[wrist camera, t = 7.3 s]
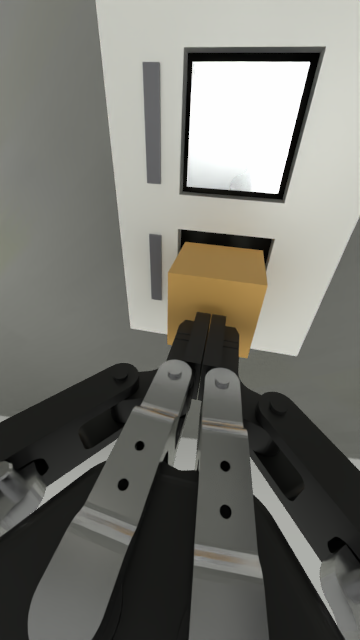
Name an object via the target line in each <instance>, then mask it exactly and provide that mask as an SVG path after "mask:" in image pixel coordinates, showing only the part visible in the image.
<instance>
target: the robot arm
mask: <svg viewBox="0 0 360 640" xmlns="http://www.w3.org/2000/svg"><path fill="white" fill-rule="evenodd" d="M210 318H211V323H210ZM225 324H226V316H223V315H216V314H212V317H211V314H209V313H203V312H197V313H196V317H195V320H194V321H191V320H184V321H183V322H182V323H181V324H180V325H179V327H178V330H177V333H176V336H175V339H174V341H173V344H172V347H171V350H170V352H169V355H168V358H167V361H166V362H164V363H163V364H161V366H160V367H159V368H158V369H156V370H153V371H145V372H138V370H137V369H136V368H135V367H134V366H133V365H131V364H127V363H119V364H115V365H113V366H111V367H109V368H107V369H105V370H103V371H101V372H99V373H97V374H95V375H93V376H91V377H89V378H87V379H85V380H83V381H81V382H79V383H77V384H75V385H73V386H71V387H69V388H67V389H65V390H64V391H62V392H60V393H58V394H56V395H54V396H52V397H50V398H48V399H46V400H44V401H42V402H40V403H38V404H36V405H34V406H32V407H30V408H28V409H26V410H24V411H22V412H20V413H18V414H16V415H14V416H12V417H10V418H8V419H6V420H4V421H2V422H1V423H0V640H360V471H359V470H358V469H357V468H356V467H355V466H354V465H353V464H352V463H351V462H350V460H349V459H348V458H347V457H346V456H345V455H344V454H343V453H342V452H341V451H340V450H339V449H338V448H337V447H336V446H335V445H334V444H333V443H332V442H331V441H330V440H329V439H328V438H327V437H326V436H325V435H324V434H323V433H322V431H321V430H320V429H319V428H318V427H317V426H316V425H315V424H314V423H313V422H312V421H311V420H310V419H309V418H308V417H307V416H306V415H305V414H304V413H303V412H302V411H301V410H300V409H299V408H298V407H297V406H296V405H295V404H294V403H293V401H292V400H290V399H289V398H288V397H287V396H285V395H283V394H281V393H277V392H267V393H264V394H263V395H260V394H258V393H256V392H254V391H252V390H250V389H248V388H247V387H246V386H244V385H243V383H242V382H241V381H240V379H239V376H238V363H239V333H238V331H237V329H236V328H235V327H229V326H225ZM209 326H210V328H209ZM200 378H201V380H200ZM199 383H200V388H199ZM198 389H199V395H198V400H201V401H202V403H201V409H200V416H199V428H198V440H197V452H196V463H195V470H191V471H181V470H177V469H176V468H174V467H173V465H174V460H175V456H176V452H177V449H178V445H179V442H180V439H181V435H182V432H183V429H184V425H185V422H186V419H187V415H188V411H189V409H190V405H191V400H192V399H195V400H196V399H197V394H198ZM117 438H118V439H117ZM116 439H117V442H116V443H115V445H114V448H113V449H112V451H111V453H110V455H109V457H108V459H107V461H104V462H102V463H100V464H98V465H96V466H94V467H93V468H91V469H90V470H88V471H87V472H86V473H84V474H83V475H82V476H80V477H79V478H78V479H76V480H75V481H74V482H72V483H71V484H70V485H68V486H67V487H66V488H64V489H63V490H62V491H60V492H59V493H58V494H56V495H55V496H54V497H52V498H51V499H50V500H48V501H47V502H46V503H45V504H43V505H42V506H41V507H39V508H38V509H37V507H38V505H39V504H40V502H41V501H42V499H43V497H44V494H45V490H46V487H47V486H48V485H50V484H52V483H53V482H54V481H56V480H57V479H59V478H60V477H62V476H63V475H65V474H66V473H68V472H69V471H71V470H72V469H73V468H75V467H76V466H78V465H79V464H81V463H82V462H84V461H85V460H87V459H88V458H90V457H91V456H93V455H94V454H95V453H97V452H98V451H100V450H101V449H103V448H104V447H106V446H107V445H109V444H110V443H112V442H113V441H115V440H116ZM250 457H251V459H252V460H253V461H254V463H255V464H256V466H257V467H258V469H259V470H260V472H261V473H262V475H263V476H264V478H265V479H266V481H267V482H268V483H269V485H270V487H271V488H272V489H273V491H274V492H275V494H276V495H277V497H278V498H279V500H280V501H281V503H282V504H283V506H284V507H285V509H286V510H287V512H288V513H289V514H290V516H291V518H292V519H293V521H294V522H295V523H296V525H297V526H298V528H299V529H300V531H301V532H302V534H303V535H304V537H305V538H306V540H307V541H308V543H309V544H310V546H311V547H312V548H313V550H314V552H315V553H316V554H317V556H318V557H319V559H320V560H321V562H322V564H321V567H320V581H321V586H322V590H323V593H324V595H325V597H326V599H327V601H328V603H329V605H330V607H331V609H332V611H333V614H334V616H335V619H336V622H337V625H336V623H335V621H334V620H333V618H332V616H331V615H330V613H329V611H328V610H327V608H326V606H325V604H324V603H323V601H322V600H321V598H320V596H319V594H318V593H317V591H316V589H315V588H314V586H313V584H312V583H311V581H310V579H309V578H308V576H307V574H306V573H305V571H304V569H303V567H302V566H301V564H300V562H299V561H298V559H297V558H296V556H295V554H294V552H293V551H292V549H291V547H290V546H289V544H288V542H287V541H286V539H285V537H284V535H283V534H282V532H281V530H280V529H279V527H278V526H277V524H276V522H275V520H274V519H273V517H272V515H271V514H270V513H269V511H268V510H267V509H266V507H265V506H264V505H263V504H262V503H261V502H260V501H259V500H258V499H257V498H256V497H255V496H254V495H253V490H252V478H251V467H250ZM36 509H37V510H36ZM33 511H34V512H33ZM32 512H33V513H32ZM30 513H31V514H30ZM28 515H29V516H28Z"/></svg>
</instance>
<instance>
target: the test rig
mask: <svg viewBox="0 0 360 640" xmlns="http://www.w3.org/2000/svg"><path fill="white" fill-rule="evenodd" d="M96 9H97V18H98V27H99V37H100V46H101V55H102V65H103V74H104V84H105V93H106V102H107V112H108V121H109V130H110V140H111V149H112V158H113V168H114V177H115V186H116V196H117V205H118V215H119V224H120V233H121V243H122V252H123V261H124V271H125V280H126V289H127V299H128V308H129V318H130V327H131V328H132V329H138V330H144V331H150V332H156V333H162V334H167V321H168V271H169V270H170V268H171V266H172V264H173V263H174V261H175V259H176V257H177V256H178V254H179V252H180V248H181V229H183V230H193V231H203V232H212V233H222V234H232V235H241V236H251V237H261V238H270V239H272V242H271V246H270V249H269V253H268V257H267V261H266V265H265V270H266V277H267V284H268V286H267V290H266V294H265V297H264V301H263V304H262V308H261V311H260V315H259V318H258V322H257V326H256V329H255V333H254V336H253V340H252V343H251V347H250V348H251V349H257V350H263V351H269V352H275V353H281V354H287V355H293V356H297V355H298V353H299V350H300V348H301V346H302V344H303V341H304V339H305V337H306V335H307V332H308V330H309V328H310V326H311V323H312V321H313V319H314V317H315V314H316V312H317V310H318V308H319V306H320V303H321V301H322V299H323V297H324V294H325V292H326V290H327V288H328V285H329V283H330V281H331V279H332V276H333V274H334V272H335V270H336V267H337V265H338V263H339V261H340V259H341V256H342V254H343V252H344V250H345V247H346V245H347V243H348V241H349V238H350V236H351V234H352V232H353V229H354V227H355V225H356V223H357V220H358V218H359V216H360V0H96ZM188 53H320V57H319V61H318V65H317V69H316V72H315V76H314V80H313V84H312V88H311V92H310V96H309V99H308V103H307V107H306V111H305V115H304V119H303V122H302V126H301V130H300V134H299V138H298V142H297V146H296V149H295V153H294V157H293V161H292V165H291V169H290V172H289V176H288V180H287V184H286V188H285V192H284V196H283V199H282V200H280V199H268V198H256V197H243V196H231V195H219V194H206V193H194V192H183V170H184V143H185V117H186V91H187V65H188Z"/></svg>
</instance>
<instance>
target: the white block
mask: <svg viewBox="0 0 360 640" xmlns="http://www.w3.org/2000/svg"><path fill="white" fill-rule="evenodd" d="M309 65H310V62H193V64H192V85H191V107H190V128H189V150H188V171H187V187H198V188H211V189H224V190H237V191H249V192H262V193H275V194H278V191H279V187H280V183H281V179H282V175H283V171H284V167H285V163H286V159H287V155H288V151H289V146H290V142H291V138H292V134H293V130H294V126H295V122H296V118H297V114H298V110H299V106H300V102H301V98H302V94H303V90H304V86H305V82H306V77H307V73H308V69H309Z"/></svg>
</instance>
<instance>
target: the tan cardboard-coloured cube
mask: <svg viewBox="0 0 360 640" xmlns="http://www.w3.org/2000/svg"><path fill="white" fill-rule="evenodd" d="M267 286H268V284H267V277H266V270H265V262H264V255H263V250H254V249H245V248H236V247H227V246H218V245H209V244H200V243H191V242H185V243H184V245H183V247H182V249H181V250H180V252H179V254H178V256H177V257H176V259H175V261H174V263H173V264H172V266H171V268H170V270H169V271H168V321H167V344H168V345H172V344H173V341H174V339H175V336H176V333H177V330H178V327H179V325H180V324H181V323H182V322H183V321H184V320H191V321H194V320H195V317H196V313H197V312H203V313H209V314H211V317H212V314H216V315H223V316H226V324H225V326H229V327H235V328H236V329H237V331H238V333H239V357H243V358H248V354H249V351H250V347H251V343H252V340H253V336H254V333H255V329H256V326H257V322H258V318H259V315H260V311H261V308H262V304H263V301H264V297H265V294H266V290H267ZM210 323H211V318H210ZM209 328H210V326H209Z"/></svg>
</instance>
